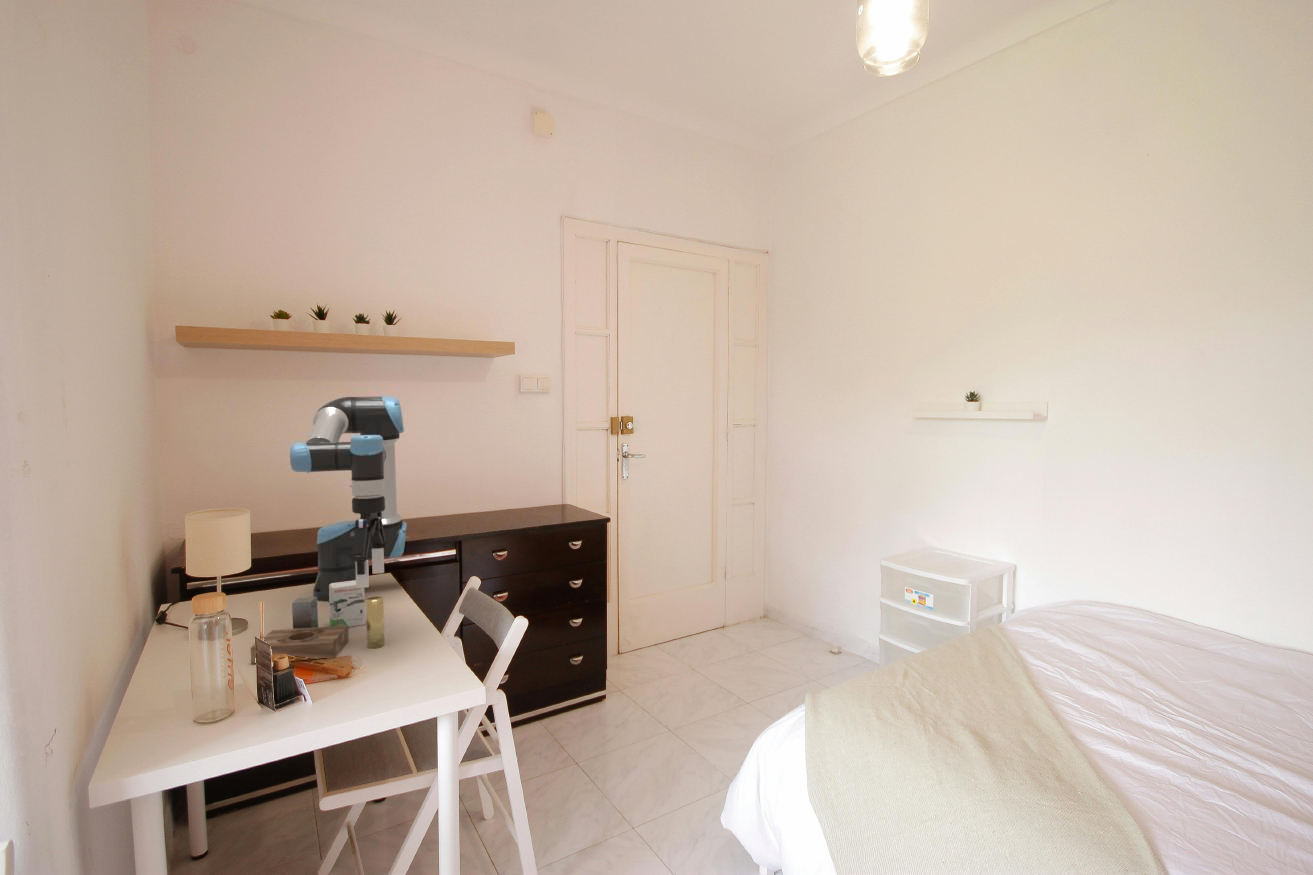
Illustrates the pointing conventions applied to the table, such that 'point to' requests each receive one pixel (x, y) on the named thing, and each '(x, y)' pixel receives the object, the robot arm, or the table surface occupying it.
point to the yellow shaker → (375, 622)
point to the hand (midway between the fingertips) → (370, 579)
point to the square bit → (305, 613)
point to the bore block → (306, 642)
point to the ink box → (346, 604)
